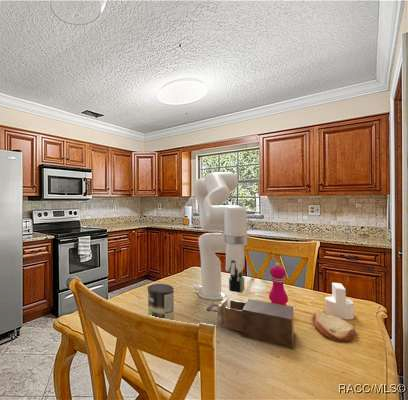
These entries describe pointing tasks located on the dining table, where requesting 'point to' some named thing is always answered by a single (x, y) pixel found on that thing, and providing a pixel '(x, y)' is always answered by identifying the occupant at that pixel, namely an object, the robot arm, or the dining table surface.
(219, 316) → the drawer
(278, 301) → the pepper mill
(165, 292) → the coffee can
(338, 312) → the white stepped tower
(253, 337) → the cabinet
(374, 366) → the dining table surface
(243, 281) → the block
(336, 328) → the slice of bread
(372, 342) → the dining table surface
